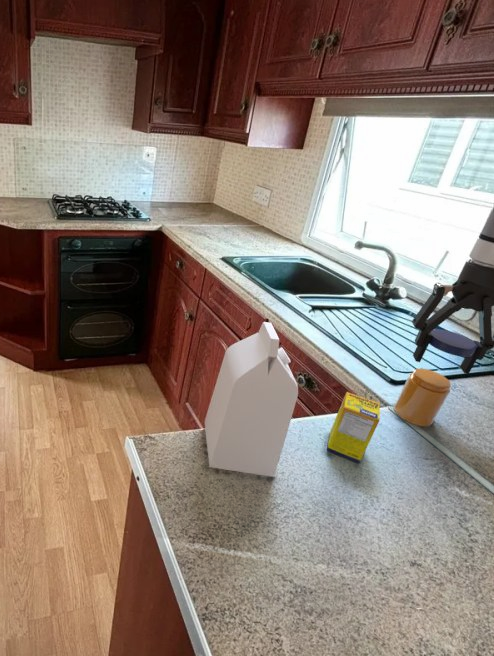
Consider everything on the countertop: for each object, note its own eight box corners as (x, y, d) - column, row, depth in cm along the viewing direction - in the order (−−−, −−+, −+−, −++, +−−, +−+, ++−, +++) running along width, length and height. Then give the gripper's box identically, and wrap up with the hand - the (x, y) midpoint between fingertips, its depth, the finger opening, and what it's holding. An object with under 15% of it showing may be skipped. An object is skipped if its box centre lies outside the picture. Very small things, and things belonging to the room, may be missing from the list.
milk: (204, 421, 84) (230, 310, 72) (260, 430, 83) (296, 318, 72) (209, 467, 73) (241, 344, 61) (274, 477, 72) (318, 354, 61)
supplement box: (360, 445, 82) (380, 402, 77) (359, 464, 77) (380, 420, 72) (328, 432, 84) (346, 390, 79) (325, 450, 79) (344, 406, 75)
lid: (478, 350, 84) (482, 342, 83) (467, 361, 79) (472, 353, 78) (433, 333, 89) (436, 325, 88) (420, 342, 84) (424, 335, 84)
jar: (430, 412, 94) (450, 375, 89) (433, 431, 88) (455, 392, 83) (392, 399, 97) (410, 363, 92) (393, 417, 91) (412, 379, 86)
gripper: (550, 269, 76) (491, 369, 86) (423, 248, 83) (381, 343, 92) (573, 282, 70) (506, 388, 80) (433, 258, 76) (388, 359, 86)
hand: (439, 364), depth 86 cm, fingers closed on lid, 8 cm apart
